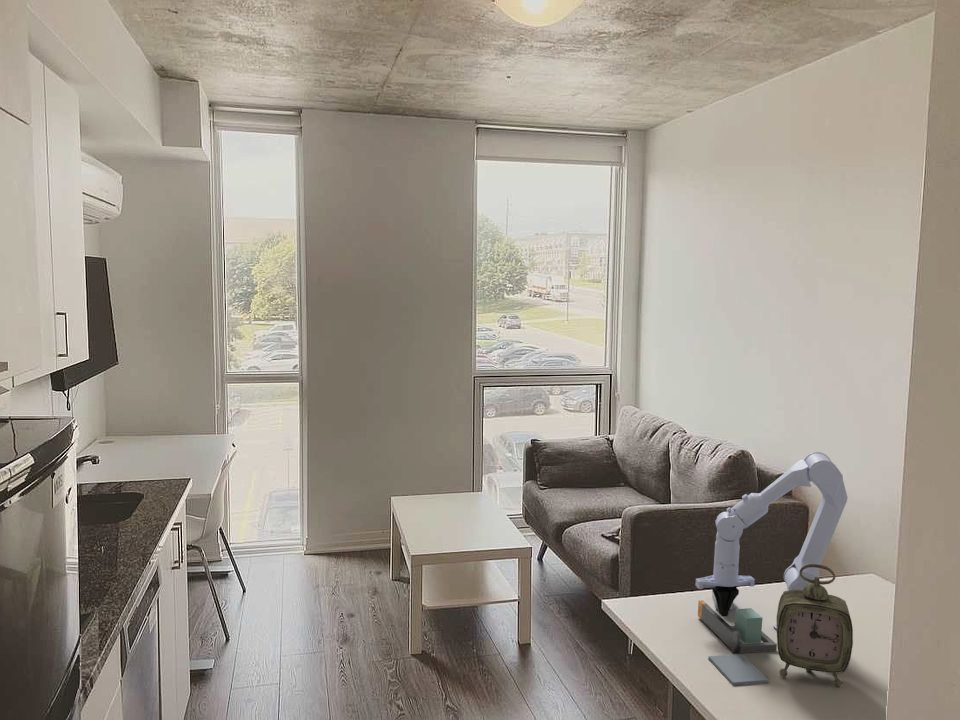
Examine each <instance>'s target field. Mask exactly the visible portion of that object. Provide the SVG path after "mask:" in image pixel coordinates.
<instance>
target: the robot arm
mask: <svg viewBox="0 0 960 720" xmlns="http://www.w3.org/2000/svg"><path fill="white" fill-rule="evenodd" d="M811 482H812V484H814V485H815V486H816V487H817V488H818V490H819V492H820V494H821V495H822V498H821V499H820V503H819V504H818V508H817V509H816V512H815V515H814V517H813V519H812V521H811V524H810V526H809V530H808V532H807V535H806V537H805V540H804V542H803V543H802V546H801V549H800V551H799V554H798V555H797V556H796V557H795V558H794V559H793V561H792V563H791V564H790V566H788V567H787V568H786V569H785V571H784V573H783V581H784V583H785V584H786V589H785V590H784V591H788V590H804V588H805V587H806V586H807V585H809V584H813V583H810V582H807V581H805V580H804V579H803V578H802V577H801V576H800V573H799V572H800V569H801V568H802V567H803V566H805V565H808V564H818V565H822V562H823V561H824V558H825V556H826V552H827V550H828V548H829V546H830V544H831V540H832V538H833V535H834V534H835V531H836V529H837V527H838V523H839V522H840V519H841V517H842V514H843V512H844V509H845V506H846V504H847V502H848V493H847V490H846V487H845V482H844V475H843V474H842V472H841V471H840V470H839V468H838V467H837V466H836V464H835V463H834V462H833V461H832V460H831V459H830V457H829V456H828V455H827V454H825V453H824V452H822V451H821V452H820V451H814V452H811V453H809V454H807V455H806V456H805V458H801V459H799V460H798V461H796V462H795V463H794V464H793V465H792V466H791V467H790V468H789V469H787V470H786V471H785V472H784V473H783V474H781V475H780V476H779V477H778V478H776V479H775V480H774V481H773V482H772V483H771V484H769V485H768V486H766V487H765V488H764V489H763V490H762V491H761V492H759V493H757V492H751V493H749V494H747V493H745V494H743V495H742V496H741V500H740V501H739V502H737V503H736V504H735V505H733V506H732V507H730V506H729V507H727V508H726V511H722V512H721V513H719V514H718V515H717V516H716V519H715V520H714V523H715V527H716V535H715V542H714V556H713V571H714V572H712V573H713V574H712V575H709V576H704V577H699V578H695V584H694V585H695V587H696V588H697V589H698V590H703V589H704V588H709V589H710V588H711V590H713V593H714V595H715V598H716V601H717V605H718V609H717V611H718V615H719V616H720V617H728V615H729V612H730V611H731V610H730V607H731V605H732V603H733V604H734V601H735V600H736V598H737V596H738V595H739V593H740V590H739V588H737V587H745V586H749V587H755V581H756V579H755V578H754V577H752V576H751V575H739V567H740V566H739V562H740V550H741V549H740V547H741V545H740V539H741V537H742V535H743V532H744V531H743V530H744V529H747V528H749V527H750V526H751V525H753V524H754V523H755V522H757V521H758V520H760V519H761V518H762V517H764V516H766V515H767V513H768V512H769V507H770V505H771V504H772V503H774V502H776V501H777V500H779V499H780V498H781V497H783V496H784V495H786V494H787V493H789V492H790V491H792V490H794V489H795V488H796V487H807V488H811V487H812V485H811ZM820 569H821V568H816V567H809V568H806V569H804V570H803V571H802V575H803V576H804V577H805V578H808V579H810V580H814V578H815V577H818V578H819V579H820ZM772 626H773V628H774V629H775V630H776V631H777V624H773V625H772Z"/></svg>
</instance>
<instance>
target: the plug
mask: <svg viewBox="0 0 960 720" xmlns="http://www.w3.org/2000/svg"><path fill="white" fill-rule="evenodd" d="M734 613H735V615H734V626H735V628H734V630H735V631H739V632H740V642H741V643H742V644H749V643H764V642H763V641H761V633H762V632H763V629H762V628H763V616H761V615H760V614H759V613H758V612H757V611H755V610H754V609H753V608H752V607H750V608H749V607H748V608H747V607H746V608H736V609H735V611H734Z"/></svg>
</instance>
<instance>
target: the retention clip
mask: <svg viewBox="0 0 960 720" xmlns="http://www.w3.org/2000/svg"><path fill="white" fill-rule="evenodd" d="M697 602H698V604H697V606H698V607H697V617H698V618H699V619H700V620H701V621H702V622H703V623H704V624H705V625H706V626H707V627H708V628H709V629H710V630H711V631H712V632H713V633H715V634H716V635H717V637H718V638H719V639H720V640H721V641H722V642H723V643H724V644H725V645H726V646H727V647H728V648H729V649H730V650H732V654H740V652H739V645H740V632H739V631H735V630H734V629H733V628H732V627H731V626H732V625H730V624H729V623H728V622H727V621H726V620H724V618H723V617H722V616H721V615H720V614H719V613H717V612H716V611H715V610H714V609H713V608H712V607H711V606H710V605H708V603H707V602H706V601H704V600H698V601H697Z"/></svg>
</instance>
